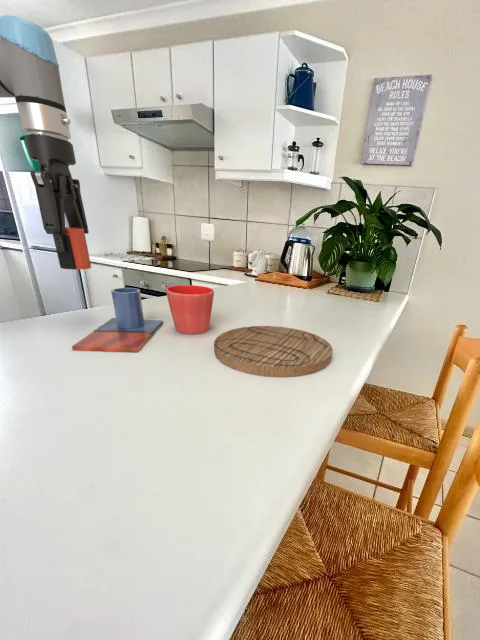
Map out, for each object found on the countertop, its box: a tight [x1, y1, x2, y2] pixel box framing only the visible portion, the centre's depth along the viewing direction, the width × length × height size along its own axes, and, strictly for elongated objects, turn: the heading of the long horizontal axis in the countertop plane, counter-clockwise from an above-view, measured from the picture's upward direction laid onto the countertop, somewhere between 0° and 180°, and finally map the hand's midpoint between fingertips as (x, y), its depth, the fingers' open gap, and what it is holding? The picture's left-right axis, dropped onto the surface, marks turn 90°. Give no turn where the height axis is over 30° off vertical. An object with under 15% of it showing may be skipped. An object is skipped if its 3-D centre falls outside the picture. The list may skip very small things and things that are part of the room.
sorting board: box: [71, 317, 164, 353], centre depth 71 cm, size 12×20×1 cm, turn 5°
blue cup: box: [110, 287, 145, 329], centre depth 74 cm, size 6×6×8 cm
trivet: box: [213, 325, 334, 378], centre depth 69 cm, size 25×25×2 cm
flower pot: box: [165, 284, 215, 335], centre depth 76 cm, size 11×11×10 cm
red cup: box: [52, 226, 92, 271], centre depth 70 cm, size 6×6×8 cm
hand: (75, 266), depth 71 cm, fingers closed on red cup, 6 cm apart
